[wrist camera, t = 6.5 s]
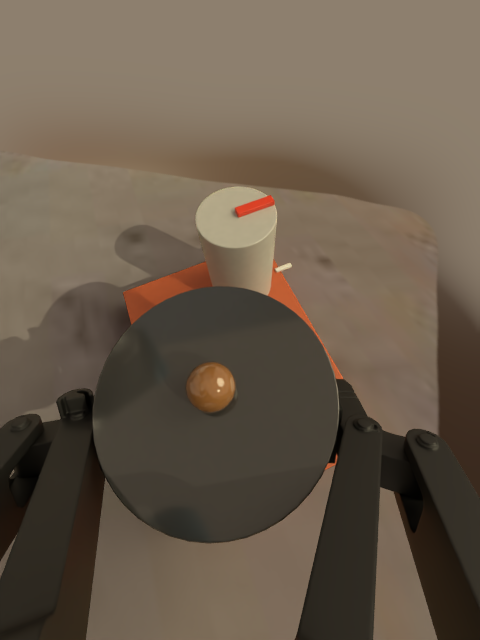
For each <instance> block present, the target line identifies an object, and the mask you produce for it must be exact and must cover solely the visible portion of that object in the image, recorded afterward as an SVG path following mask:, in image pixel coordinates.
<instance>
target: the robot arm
mask: <svg viewBox="0 0 480 640" xmlns="http://www.w3.org/2000/svg"><path fill="white" fill-rule="evenodd" d="M336 382H337V387H338V395H339V425H338V430H337V436H336V441H335V445H334V448H333V451H332V454H331V457H330V460H329V462H328V463H335V460H336V453H337V456H338V457H337V462H336V466H335V471H334V475H333V479H332V484H331V488H330V492H329V497H328V501H327V505H326V510H325V514H324V519H323V523H322V527H321V532H320V536H319V540H318V545H317V549H316V554H315V558H314V562H313V567H312V571H311V575H310V580H309V584H308V589H307V593H306V597H305V602H304V606H303V610H302V615H301V619H300V624H299V628H298V632H297V635H296V638H295V640H373V629H374V607H375V585H376V564H377V542H378V520H379V499H380V487H382V488H385V489H388V490H391V491H394V494H395V498H396V501H397V504H398V508H399V511H400V515H401V518H402V521H403V525H404V528H405V531H406V535H407V538H408V541H409V545H410V548H411V551H412V555H413V558H414V562H415V565H416V568H417V572H418V575H419V578H420V582H421V585H422V588H423V592H424V595H425V598H426V602H427V605H428V609H429V612H430V615H431V619H432V622H433V625H434V629H435V632H436V635H437V639H438V640H480V498H479V496H478V494H477V493H476V491H475V489H474V488H473V486H472V484H471V483H470V481H469V479H468V478H467V476H466V474H465V473H464V471H463V469H462V468H461V466H460V465H459V463H458V461H457V459H456V458H455V456H454V454H453V453H452V451H451V449H450V448H449V446H448V445H447V443H446V442H445V441H444V440H443V439H441V438H440V437H439V436H437V435H436V434H433V433H431V432H429V431H426V430H422V429H412V430H409V431H408V432H407V434H406V437H403V436H399V435H395V434H392V433H388V432H385V431H383V430H382V427H381V426H380V425H379V423H378V422H376V421H375V420H373V419H372V418H370V417H368V416H367V414H366V412H365V410H364V409H363V407H362V405H361V403H360V401H359V399H357V396H356V394H355V393H354V390H353V388H352V386H351V385H350V384H349V383H348V382H346V381H345V380H344V379H336ZM94 397H95V395H94V396H93V393H92V391H91V390H89V389H76V390H72V391H70V392H67V393H65V394H63V395H62V396H61V397H59V398H58V400H57V401H56V403H57V406H58V410H59V413H60V416H61V419H60V420H55V421H50V422H44V423H42V421H41V418H40V416H39V415H37V414H27V415H22V416H19V417H16V418H15V419H13V420H11V421H9V422H8V423H6V424H5V425H4V426H3V427H2V428H1V429H0V561H1V559H2V557H3V556H4V554H5V552H6V551H7V549H8V547H9V546H10V544H11V543H12V541H13V539H14V538H15V536H16V534H17V533H18V534H17V536H16V539H15V542H14V544H13V547H12V550H11V552H10V555H9V557H8V560H7V563H6V565H5V568H4V571H3V573H2V576H1V579H0V640H86V633H87V625H88V617H89V608H90V600H91V592H92V583H93V575H94V566H95V558H96V550H97V541H98V533H99V525H100V516H101V508H102V499H103V491H104V483H105V476H104V473H103V471H102V468H101V465H100V463H99V460H98V457H97V452H96V448H95V444H94V437H93V427H92V420H93V404H94ZM13 469H14V471H15V472H14V473H13V475H12V476H11V477H10V474H11V472H12V471H13ZM9 477H10V478H9Z"/></svg>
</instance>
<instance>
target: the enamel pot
mask: <svg viewBox="0 0 480 640" xmlns="http://www.w3.org/2000/svg"><path fill="white" fill-rule="evenodd" d="M338 425H339V395H338V387H337V382H336V378H335V373H334V370H333V367H332V365H331V362H330V359H329V357H328V355H327V353H326V351H325V349H324V347H323V345H322V343H321V342H320V340H319V339H318V337H317V336H316V334H315V333H314V331H313V330H312V329H311V328H310V327H309V326H308V325H307V323H306V322H305V321H304V320H303V319H302V318H301V317H300V316H298V315H297V314H296V313H295V312H294V311H293V310H291V309H290V308H288V307H287V306H286V305H284V304H283V303H281V302H279V301H277V300H275V299H273V298H272V297H270V296H267V295H264V294H262V293H259V292H256V291H253V290H249V289H245V288H238V287H231V286H214V287H204V288H199V289H194V290H190V291H186V292H183V293H180V294H177V295H175V296H173V297H171V298H168V299H166V300H164V301H163V302H161V303H159V304H157V305H156V306H154V307H152V308H151V309H150V310H148V311H147V312H146V313H144V314H143V315H142V316H141V317H140V318H138V319H137V320H136V321H135V322H134V323H133V324H132V325H131V326H130V327H129V328H128V329H127V331H126V332H125V333H124V334H123V335H122V336H121V338H120V339H119V341H118V342H117V343H116V345H115V346H114V348H113V349H112V351H111V353H110V355H109V357H108V358H107V360H106V362H105V365H104V367H103V370H102V372H101V374H100V377H99V381H98V384H97V388H96V391H95V397H94V404H93V420H92V427H93V437H94V444H95V448H96V452H97V457H98V460H99V463H100V465H101V468H102V471H103V473H104V476H105V477H106V479H107V481H108V483H109V484H110V486H111V488H112V490H113V491H114V493H115V494H116V495H117V497H118V498H119V499H120V500H121V502H122V503H123V504H124V506H126V507H127V508H128V509H129V510H130V511H131V512H132V513H133V514H134V515H135V516H136V517H137V518H138V519H140V520H141V521H143V522H144V523H146V524H147V525H149V526H150V527H152V528H153V529H155V530H158V531H160V532H162V533H164V534H166V535H168V536H171V537H174V538H178V539H182V540H185V541H189V542H199V543H222V542H231V541H235V540H239V539H244V538H247V537H250V536H252V535H255V534H257V533H260V532H262V531H265V530H267V529H268V528H270V527H272V526H273V525H275V524H277V523H278V522H280V521H282V520H283V519H284V518H285V517H287V516H288V515H289V514H290V513H291V512H293V511H294V510H295V509H296V508H297V507H298V506H299V505H300V504H301V503H302V502H303V501H304V500H305V499H306V497H307V496H308V495H309V494H310V493H311V492H312V490H313V489H314V487H315V486H316V484H317V483H318V481H319V480H320V478H321V477H322V475H323V472H324V470H325V468H326V466H327V464H328V462H329V460H330V457H331V454H332V451H333V448H334V445H335V441H336V436H337V430H338Z"/></svg>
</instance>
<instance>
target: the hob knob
mask: <svg viewBox="0 0 480 640" xmlns="http://www.w3.org/2000/svg"><path fill="white" fill-rule="evenodd" d="M195 223H196V228H197V232H198V235H199V239H200V242H201V246H202V250H203V253H204V257H205V260H206V264H207V268H208V271H209V275H210V279H211V282H212V286H213V287H214V286H231V287H238V288H245V289H249V290H253V291H256V292H259V293H262V294H264V295H267V296H268V294H269V292H270V288H271V280H272V268H273V257H274V246H275V235H276V224H277V211H276V208H275V205H274V200H273V198H272V197H271V195H270V196H267V195H265V194H264V193H262V192H260V191H258V190H256V189H253V188H248V187H229V188H224V189H221V190H218V191H216V192H214V193H212V194H211V195H209V196H208V197H207V198H205V199H204V200H203V201H202V203H201V204H200V205H199V207H198V209H197V212H196V216H195Z"/></svg>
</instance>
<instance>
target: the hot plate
mask: <svg viewBox="0 0 480 640" xmlns="http://www.w3.org/2000/svg"><path fill="white" fill-rule="evenodd" d="M290 267H292V266H291V264H290V263H288V264H286V265H283V266H281V267H278V266H277V264H276V262H275V261H274V259H273V268H272V280H271V288H270V292H269V294H268V296H270V297H272V298H273V299H275V300H277V301H279V302H281V303H283V304H284V305H286V306H287V307H288V308H290V309H291V310H293V311H294V312H295V313H296V314H297V315H298V316H300V317H301V318H302V319H303V320H304V321H305V322H306V323H307V325H308V326H309V327H310V328H311V329H312V330H313V331H314V333H315V334H316V336H317V337H318V339H319V340H320V338H319V336H318V334H317V333H316V331H315V329H314V328H313V326H312V324H311V322H310V321H309V319H308V317H307V316H306V314H305V312H304V310H303V309H302V307H301V305H300V304H299V302H298V300H297V298H296V297H295V295H294V293H293V292H292V290H291V288H290V286H289V285H288V283H287V281H286V280H285V278H284V276H283V274H282V273H281V271H283V270H285V269H288V268H290ZM204 287H213V286H212V282H211V279H210V275H209V271H208V268H207V264H206V262H203V263H201V264H198V265H195V266H192V267H190V268H187V269H184V270H182V271H179V272H176V273H173V274H171V275H168V276H165V277H163V278H160V279H157V280H154V281H152V282H149V283H146V284H144V285H141V286H138V287H135V288H133V289H130V290H127V291H125V292H123V295H124V298H125V302H126V306H127V310H128V313H129V317H130V321H131V325H132V324H133V323H134V322H135V321H136V320H137V319H138V318H140V317H141V316H142V315H143V314H144V313H146V312H147V311H148V310H150V309H151V308H152V307H154V306H156V305H157V304H159V303H161V302H163V301H164V300H166V299H168V298H171V297H173V296H175V295H177V294H180V293H183V292H186V291H190V290H194V289H199V288H204ZM320 342H321V343H322V341H321V340H320ZM322 345H323V343H322ZM323 347H324V349H325V351H326V353H327V355H328V357H329V359H330V362H331V365H332V367H333V370H334V373H335V378H336V379H343V377H342V376H341V374H340V372H339V370H338V369H337V367H336V365H335V364H334V362H333V360H332V358H331V357H330V355H329V353H328V352H327V350H326V348H325V346H324V345H323ZM337 457H338V456H337V453H336V460H335V463H328V464H327V466H326V468H325V470H326V469H328V468H330V467H332V466H334V465H336V462H337Z"/></svg>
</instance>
